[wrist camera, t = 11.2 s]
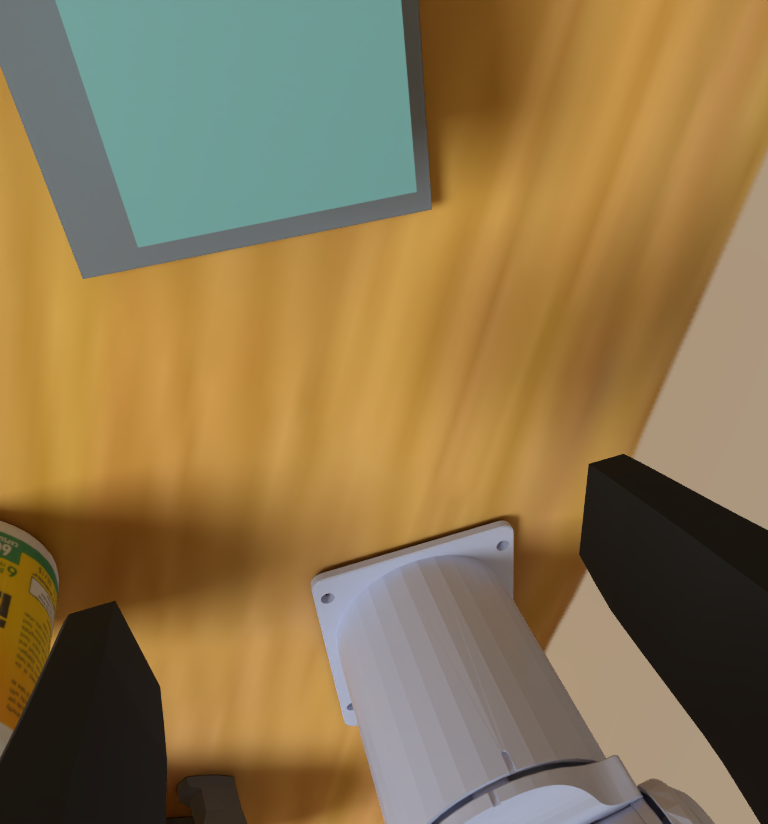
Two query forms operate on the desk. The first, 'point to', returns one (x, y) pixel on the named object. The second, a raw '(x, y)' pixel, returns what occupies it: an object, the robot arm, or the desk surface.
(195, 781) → the giant panda
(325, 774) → the desk surface
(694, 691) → the robot arm
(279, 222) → the slate mat
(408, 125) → the teal cube
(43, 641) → the supplement bottle
